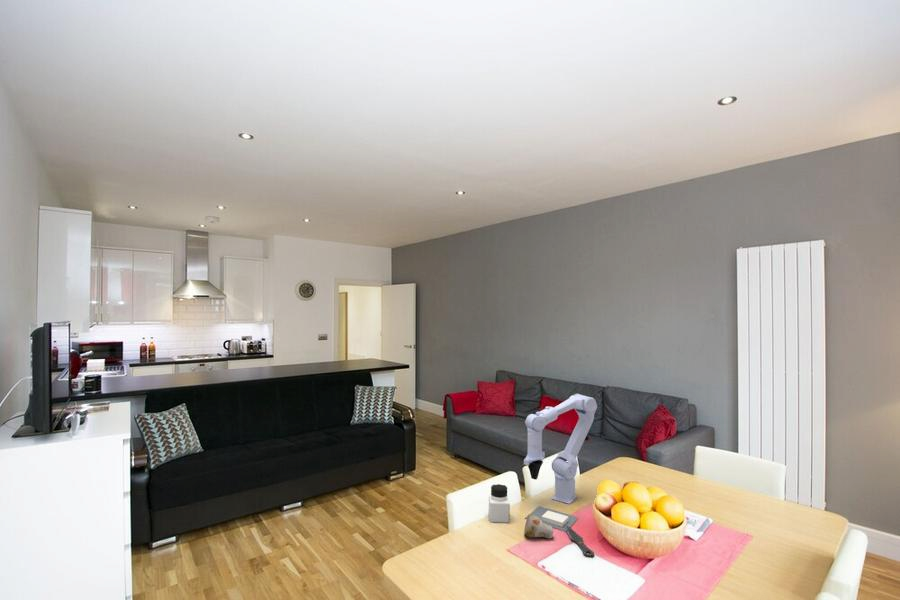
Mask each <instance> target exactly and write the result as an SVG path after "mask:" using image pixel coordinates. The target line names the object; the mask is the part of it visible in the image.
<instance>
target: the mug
mask: <svg viewBox="0 0 900 600" xmlns="http://www.w3.org/2000/svg"><path fill="white" fill-rule="evenodd" d="M527 516H528V517H527ZM527 516H526V517H527V519H526V521H525V525H524V531H523V535H524V536H527V537H529V538H545V539H552V538H553V535H554V528H552V527H551V526H549V525H547V524H545V523H544V522H542V521H541V520H540V519H539V518H538V517H536V516H535V515H533V514H530V513H529V514H527Z"/></svg>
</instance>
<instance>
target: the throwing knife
mask: <svg viewBox="0 0 900 600" xmlns="http://www.w3.org/2000/svg"><path fill="white" fill-rule="evenodd" d="M565 527H566V530H567V532H566V533H567V534H568V537H569V539H570V540H571V541H573V542H575V543H576V545H578V546H579V548H580V550H581V553H582V555H583V554H584V555H583V556H585V557H588V558H593V557H594V556H595V552H594V551H593V550H591V549H590V548H589V547H588V546H587V545H586V544H585V543H584V542H583V539H584V538H583V537H582V536H581V535H579V533H578V532H576V531H575V530H574V529H572V527H568V526H567V525H565Z"/></svg>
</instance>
